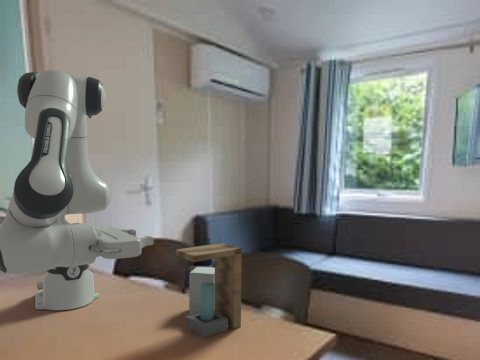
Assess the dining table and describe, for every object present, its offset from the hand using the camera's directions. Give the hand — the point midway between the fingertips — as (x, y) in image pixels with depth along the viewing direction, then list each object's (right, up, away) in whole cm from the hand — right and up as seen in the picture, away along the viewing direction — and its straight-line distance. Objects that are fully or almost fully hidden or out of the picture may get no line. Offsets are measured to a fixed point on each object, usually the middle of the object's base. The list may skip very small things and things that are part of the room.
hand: (143, 236), depth 91 cm
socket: (+14, -27, +13) cm, 33 cm away
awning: (+14, -27, +13) cm, 33 cm away
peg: (+14, -27, +13) cm, 33 cm away
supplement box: (+12, -26, +24) cm, 38 cm away
